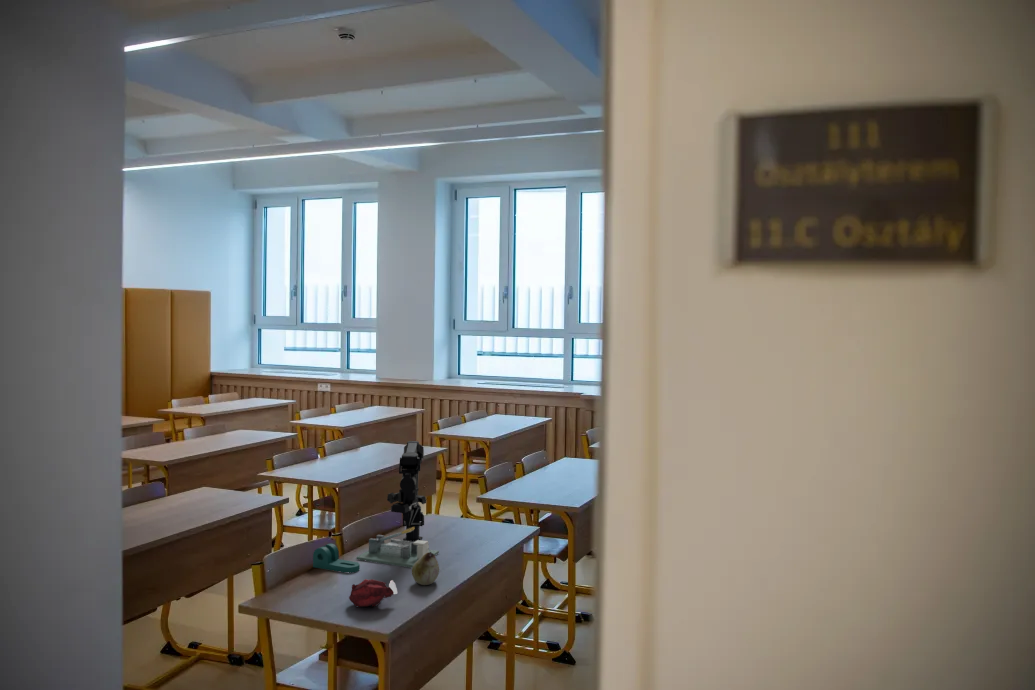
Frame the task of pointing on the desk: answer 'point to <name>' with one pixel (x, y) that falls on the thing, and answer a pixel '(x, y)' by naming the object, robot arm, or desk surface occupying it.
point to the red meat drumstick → (371, 592)
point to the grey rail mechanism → (393, 548)
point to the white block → (421, 548)
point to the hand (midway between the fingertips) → (408, 525)
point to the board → (391, 558)
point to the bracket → (332, 560)
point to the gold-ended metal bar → (395, 534)
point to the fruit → (426, 569)
